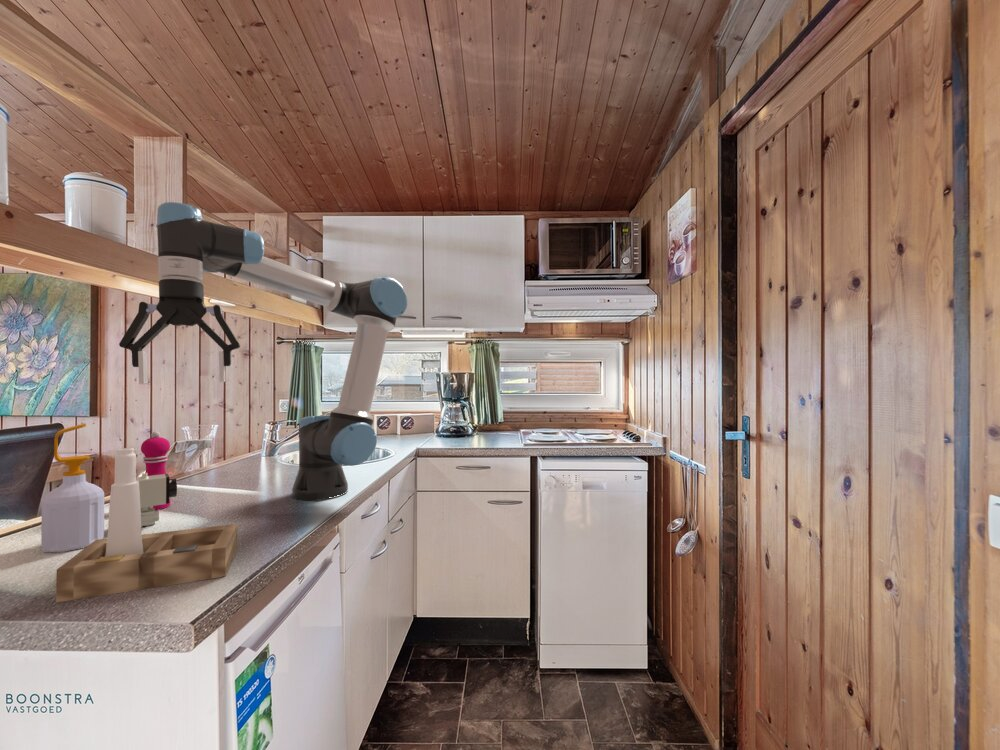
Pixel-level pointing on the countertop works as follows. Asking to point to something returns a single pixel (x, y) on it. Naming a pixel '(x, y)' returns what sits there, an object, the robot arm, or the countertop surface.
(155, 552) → the wooden compartment tray
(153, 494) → the pneumatic valve
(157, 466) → the pepper mill
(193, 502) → the countertop surface
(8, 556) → the countertop surface
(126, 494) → the cosmetic bottle
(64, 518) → the soap bottle
